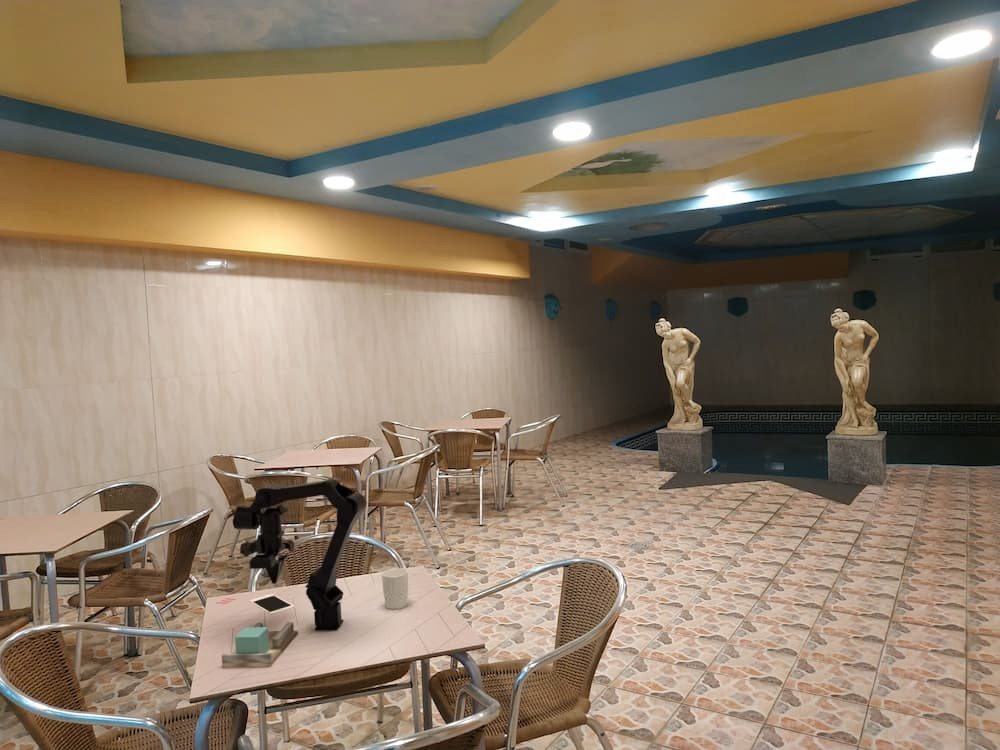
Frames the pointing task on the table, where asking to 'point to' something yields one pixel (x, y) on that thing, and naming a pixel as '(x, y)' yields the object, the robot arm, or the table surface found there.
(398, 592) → the white cup
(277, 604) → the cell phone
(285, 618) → the table surface
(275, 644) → the chute
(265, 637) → the block
